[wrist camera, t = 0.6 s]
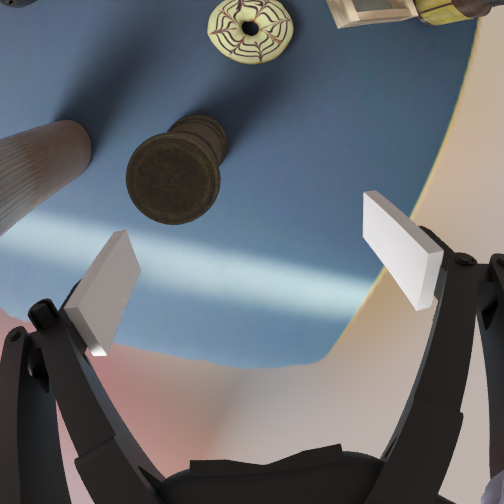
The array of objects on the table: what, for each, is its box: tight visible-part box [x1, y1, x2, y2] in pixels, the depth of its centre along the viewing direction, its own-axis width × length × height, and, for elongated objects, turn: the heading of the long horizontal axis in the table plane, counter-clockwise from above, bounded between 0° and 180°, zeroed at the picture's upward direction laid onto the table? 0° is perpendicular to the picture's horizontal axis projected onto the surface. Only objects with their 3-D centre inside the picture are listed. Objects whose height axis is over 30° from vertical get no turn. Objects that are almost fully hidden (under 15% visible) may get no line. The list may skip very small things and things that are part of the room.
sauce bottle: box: [413, 0, 504, 26], centre depth 20 cm, size 6×6×20 cm
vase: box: [0, 120, 92, 236], centre depth 26 cm, size 10×10×28 cm
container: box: [126, 115, 227, 225], centre depth 32 cm, size 9×9×18 cm
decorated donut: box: [207, 0, 293, 64], centre depth 30 cm, size 10×11×4 cm
